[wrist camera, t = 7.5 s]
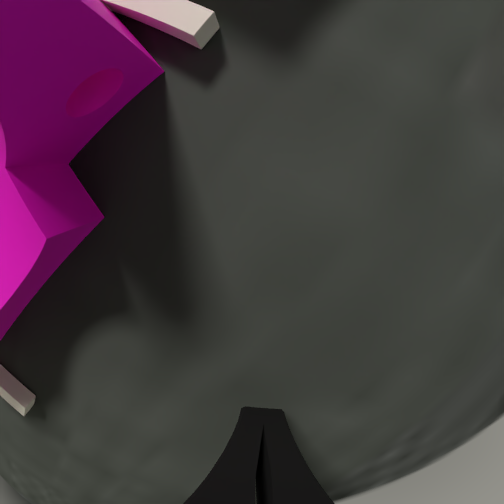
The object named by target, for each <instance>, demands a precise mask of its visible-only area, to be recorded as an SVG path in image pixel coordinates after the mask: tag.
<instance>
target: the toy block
mask: <svg viewBox="0 0 504 504" xmlns="http://www.w3.org/2000/svg"><path fill="white" fill-rule="evenodd" d="M163 72H164V70H163V69H162V68H161V67H160V66H159V64H158V63H157V62H156V61H155V60H154V58H153V57H152V56H151V55H150V54H149V53H148V51H147V50H146V49H145V48H144V47H143V46H142V45H141V43H140V42H139V41H138V40H137V39H136V38H135V36H134V35H133V34H132V33H131V32H130V31H129V30H128V29H127V27H126V26H125V25H124V24H123V23H122V22H121V21H120V20H119V18H118V17H117V16H116V15H115V14H114V13H113V12H112V11H111V10H110V9H109V8H108V7H107V6H105V5H104V4H103V3H102V2H101V1H100V0H0V341H1V339H2V338H3V336H4V335H5V334H6V332H7V331H8V329H9V328H10V327H11V325H12V324H13V323H14V321H15V320H16V319H17V317H18V316H19V315H20V313H21V312H22V311H23V309H24V308H25V307H26V306H27V304H28V303H29V302H30V300H31V299H32V298H33V297H34V295H35V294H36V293H37V292H38V290H39V289H40V288H41V287H42V286H43V284H44V283H45V282H46V281H47V280H48V278H49V277H50V276H51V275H52V274H53V273H54V271H55V270H56V269H57V268H58V267H59V266H60V265H61V263H62V262H63V261H64V260H65V259H66V258H67V257H68V256H69V254H70V253H71V252H72V251H73V250H74V249H75V248H76V247H77V246H78V245H79V244H80V242H81V241H82V240H83V239H84V238H85V237H86V236H87V235H88V234H89V233H90V232H91V231H92V230H93V229H94V228H95V227H96V226H97V225H98V224H99V223H100V222H101V221H102V220H103V219H104V218H105V217H104V216H103V214H102V213H101V211H100V210H99V209H98V207H97V206H96V204H95V203H94V201H93V200H92V199H91V197H90V196H89V194H88V193H87V191H86V190H85V188H84V187H83V185H82V184H81V182H80V181H79V179H78V178H77V176H76V175H75V173H74V172H73V170H72V169H71V167H70V166H69V163H70V162H71V160H72V159H73V158H74V157H75V156H76V155H77V154H78V152H79V151H80V150H81V149H82V148H83V147H84V146H85V145H86V144H87V143H88V142H89V141H90V140H91V138H92V137H93V136H94V135H95V134H96V133H97V132H98V131H99V130H100V129H101V128H102V127H103V126H104V125H105V124H106V123H107V122H108V121H109V120H110V119H111V118H112V117H113V116H114V115H115V114H116V113H117V112H119V111H120V110H121V109H122V108H123V107H124V106H125V105H126V104H127V103H128V102H129V101H130V100H131V99H133V98H134V97H135V96H136V95H137V94H138V93H139V92H140V91H142V90H143V89H144V88H145V87H146V86H147V85H149V84H150V83H151V82H152V81H153V80H155V79H156V78H157V77H158V76H159V75H161V74H162V73H163Z"/></svg>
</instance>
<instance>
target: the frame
mask: <svg viewBox="0 0 504 504" xmlns="http://www.w3.org/2000/svg"><path fill="white" fill-rule="evenodd" d="M100 1H101V2H102V3H103V4H104V5H105V6H107V7H108V8H109V9H110V10H111V11H113V12H116V13H119V14H121V15H124V16H127V17H129V18H132V19H134V20H137V21H139V22H142V23H144V24H147V25H149V26H152V27H154V28H156V29H159V30H161V31H163V32H165V33H168V34H170V35H172V36H174V37H176V38H178V39H181V40H183V41H185V42H187V43H189V44H191V45H193V46H195V47H197V48H199V49H201V50H202V49H203V47H204V46H205V45H206V44H207V42H208V41H209V40H210V39H211V37H212V36H213V35H214V34H215V33H216V31H217V30H218V29H219V28H220V27H219V24H218V21H217V18H216V15H215V12H214V11H212V10H210V9H207V8H205V7H203V6H200V5H198V4H195V3H193V2H190V1H188V0H100ZM0 396H1V397H3V398H4V399H5V400H6V401H7V402H8V403H9V404H10V405H11V406H12V407H14V408H15V409H16V410H17V411H18V412H19V413H21V414H22V415H23V416H25V415H26V413H27V412H28V411H29V410H30V409H31V407H32V406H33V405H34V403H35V398H36V396H35V395H34V394H33V393H32V392H31V391H29V390H28V389H27V388H26V387H25V386H24V385H23V384H21V383H20V382H19V381H18V380H17V379H16V378H15V377H14V376H13V375H11V374H10V373H9V372H8V371H7V370H6V369H5V368H4V367H3V366H2V365H1V364H0Z"/></svg>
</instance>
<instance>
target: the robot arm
mask: <svg viewBox="0 0 504 504" xmlns="http://www.w3.org/2000/svg"><path fill="white" fill-rule="evenodd" d="M255 478H256V497H257V504H334V503H333V501H332V500H331V499H330V498H329V496H328V495H327V494H326V493H325V491H324V490H323V489H322V487H321V486H320V484H319V483H318V481H317V480H316V478H315V477H314V475H313V474H312V472H311V471H310V469H309V467H308V466H307V464H306V462H305V460H304V458H303V456H302V455H301V453H300V451H299V449H298V447H297V445H296V443H295V441H294V438H293V436H292V434H291V431H290V429H289V426H288V424H287V421H286V418H285V414H284V412H283V411H282V410H281V409H268V408H255V407H243V408H241V412H240V416H239V419H238V422H237V425H236V427H235V430H234V432H233V434H232V436H231V438H230V440H229V442H228V444H227V446H226V448H225V450H224V451H223V453H222V455H221V456H220V458H219V459H218V461H217V462H216V464H215V465H214V467H213V469H212V470H211V471H210V473H209V474H208V476H207V477H206V478H205V480H204V481H203V482H202V483H201V485H200V486H199V487H198V488H197V489H196V491H195V492H194V493H193V494H192V495H191V496H190V497H189V498H188V499H187V500H186V501H185V503H184V504H255Z"/></svg>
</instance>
